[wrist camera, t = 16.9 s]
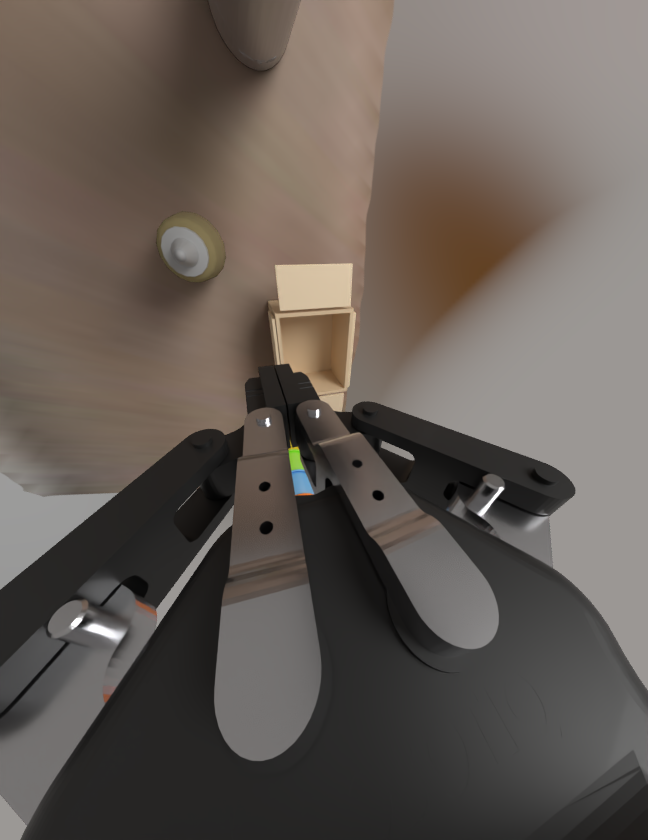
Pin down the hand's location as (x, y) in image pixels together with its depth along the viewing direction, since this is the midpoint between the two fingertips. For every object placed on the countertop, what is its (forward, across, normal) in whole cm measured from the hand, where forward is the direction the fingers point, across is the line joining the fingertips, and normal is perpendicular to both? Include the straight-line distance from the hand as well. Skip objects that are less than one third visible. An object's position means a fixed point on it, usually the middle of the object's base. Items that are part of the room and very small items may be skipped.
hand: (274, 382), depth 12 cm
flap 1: (+29, -10, +4) cm, 31 cm away
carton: (+39, -10, +12) cm, 42 cm away
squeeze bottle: (+39, +6, -4) cm, 40 cm away
